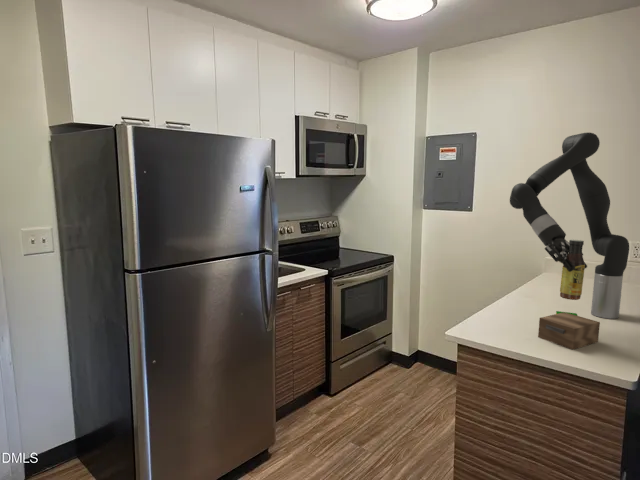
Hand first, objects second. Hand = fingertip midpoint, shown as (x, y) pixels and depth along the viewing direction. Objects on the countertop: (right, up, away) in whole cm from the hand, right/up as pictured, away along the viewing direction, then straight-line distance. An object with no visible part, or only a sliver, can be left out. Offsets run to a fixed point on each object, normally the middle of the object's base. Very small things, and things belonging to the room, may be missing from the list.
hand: (578, 269), depth 132 cm
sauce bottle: (-1, -10, +3) cm, 11 cm away
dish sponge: (+10, -23, +23) cm, 34 cm away
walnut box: (-1, -25, +5) cm, 25 cm away
